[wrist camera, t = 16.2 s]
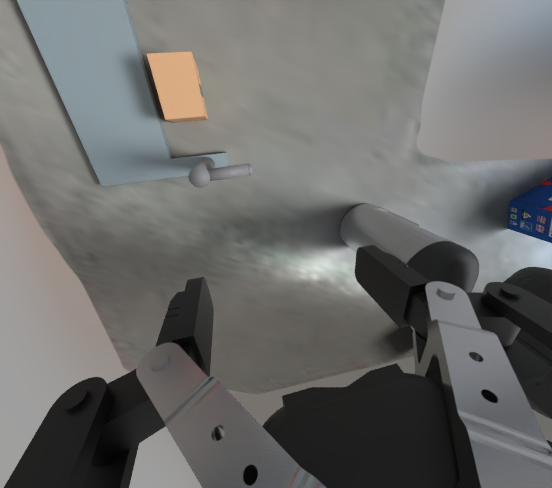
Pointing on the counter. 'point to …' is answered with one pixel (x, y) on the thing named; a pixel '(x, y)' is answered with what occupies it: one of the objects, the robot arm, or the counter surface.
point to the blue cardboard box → (533, 212)
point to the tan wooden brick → (178, 86)
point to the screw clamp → (112, 93)
